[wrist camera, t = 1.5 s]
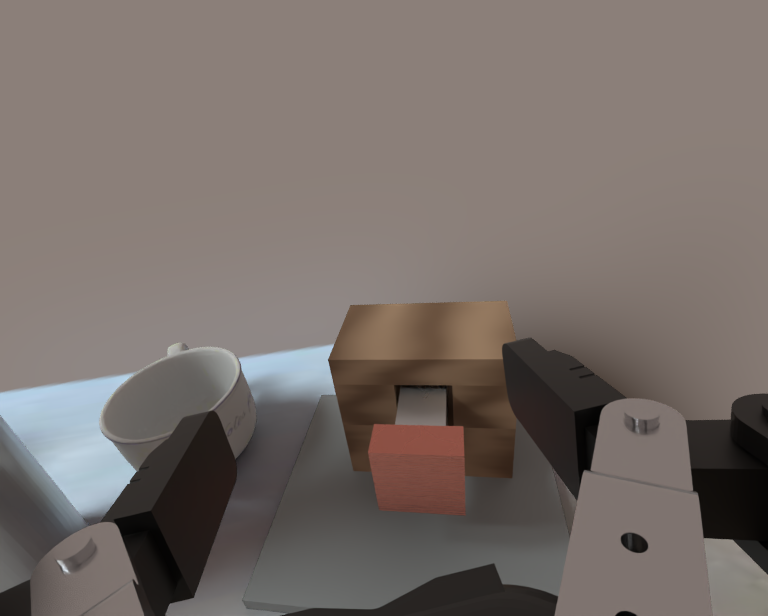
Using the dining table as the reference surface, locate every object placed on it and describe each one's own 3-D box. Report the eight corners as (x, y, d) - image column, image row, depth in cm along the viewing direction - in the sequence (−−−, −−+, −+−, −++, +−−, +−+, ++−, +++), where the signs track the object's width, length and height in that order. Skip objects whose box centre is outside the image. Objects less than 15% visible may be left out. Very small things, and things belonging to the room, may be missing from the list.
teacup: (263, 486, 33) (234, 414, 29) (121, 524, 31) (70, 454, 27) (266, 379, 45) (246, 318, 41) (164, 403, 43) (132, 342, 39)
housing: (355, 479, 32) (328, 359, 26) (370, 414, 38) (350, 305, 32) (511, 487, 30) (520, 359, 24) (501, 417, 36) (506, 300, 30)
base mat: (246, 608, 25) (242, 600, 25) (323, 402, 40) (321, 395, 40) (592, 647, 22) (595, 638, 21) (533, 406, 37) (534, 397, 36)
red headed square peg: (379, 510, 24) (367, 452, 21) (396, 402, 32) (389, 350, 29) (465, 515, 23) (464, 456, 21) (461, 403, 31) (460, 349, 28)
